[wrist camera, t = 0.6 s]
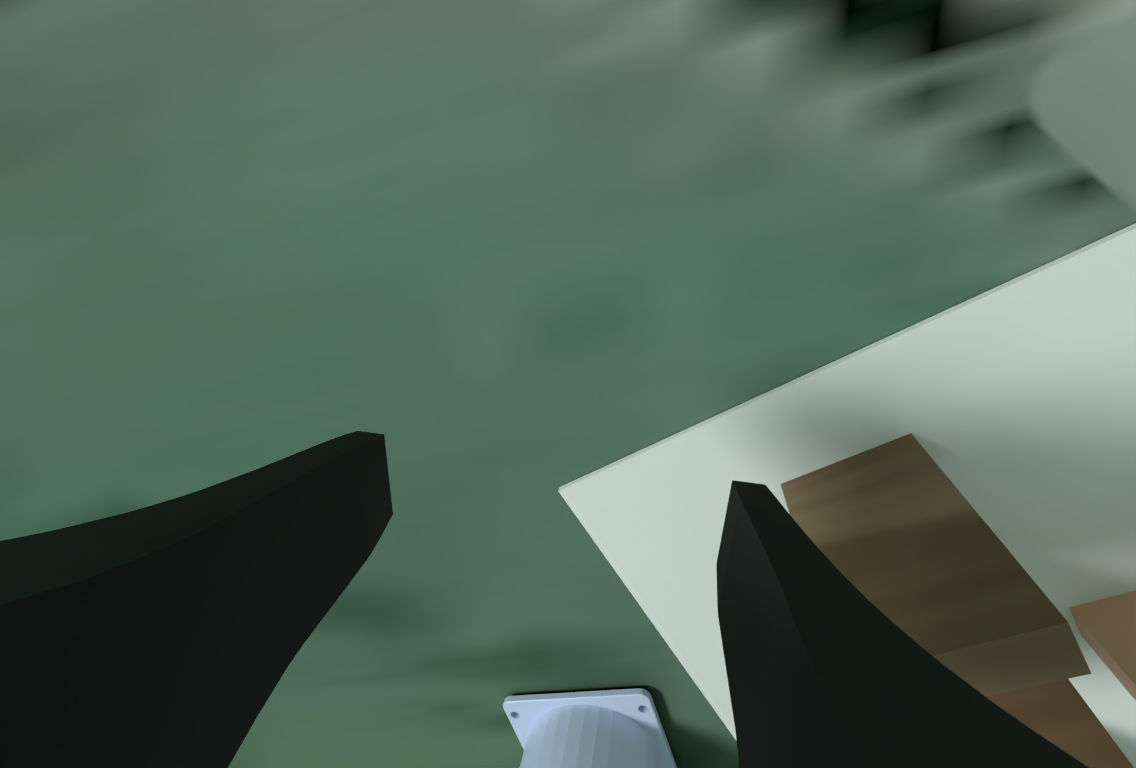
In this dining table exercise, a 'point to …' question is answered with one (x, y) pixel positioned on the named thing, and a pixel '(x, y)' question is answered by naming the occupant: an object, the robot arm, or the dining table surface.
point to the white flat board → (948, 434)
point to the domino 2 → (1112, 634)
